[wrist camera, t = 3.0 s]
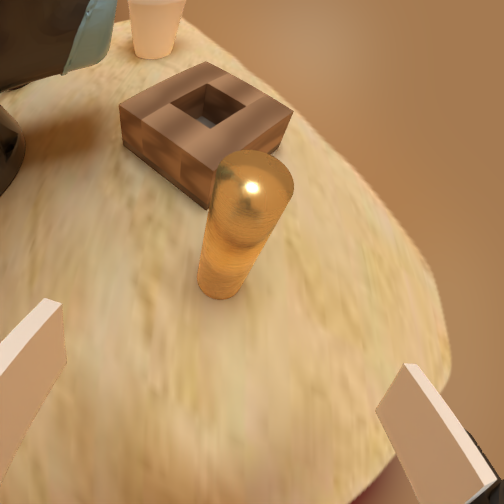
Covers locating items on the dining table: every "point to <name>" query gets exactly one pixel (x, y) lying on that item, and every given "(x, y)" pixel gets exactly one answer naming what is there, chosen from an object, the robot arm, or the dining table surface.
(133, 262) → the dining table surface
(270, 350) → the dining table surface
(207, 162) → the walnut socket block
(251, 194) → the brass peg
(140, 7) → the foam cup
